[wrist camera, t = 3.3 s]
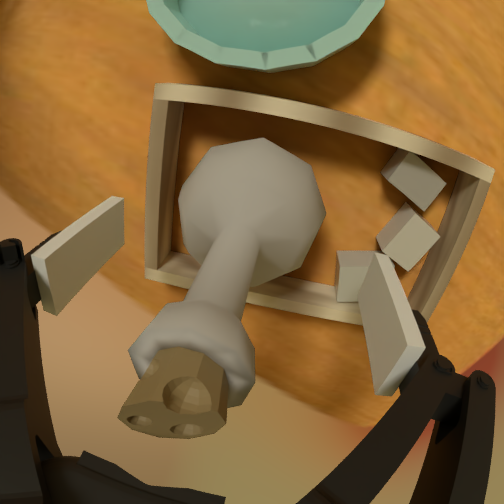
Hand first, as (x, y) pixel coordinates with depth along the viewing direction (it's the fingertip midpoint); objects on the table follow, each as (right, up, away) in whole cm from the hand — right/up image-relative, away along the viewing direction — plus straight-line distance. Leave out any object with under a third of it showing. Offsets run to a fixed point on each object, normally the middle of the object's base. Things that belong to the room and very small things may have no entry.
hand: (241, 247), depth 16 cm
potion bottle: (+1, +4, +7) cm, 8 cm away
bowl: (+2, +17, -1) cm, 17 cm away
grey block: (+9, -1, +8) cm, 12 cm away
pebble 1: (+11, +5, +4) cm, 13 cm away
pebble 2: (+12, +1, +6) cm, 13 cm away
